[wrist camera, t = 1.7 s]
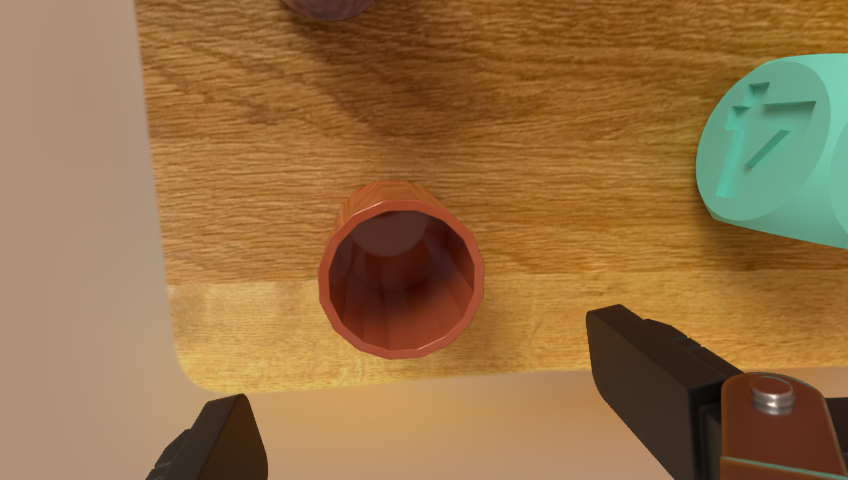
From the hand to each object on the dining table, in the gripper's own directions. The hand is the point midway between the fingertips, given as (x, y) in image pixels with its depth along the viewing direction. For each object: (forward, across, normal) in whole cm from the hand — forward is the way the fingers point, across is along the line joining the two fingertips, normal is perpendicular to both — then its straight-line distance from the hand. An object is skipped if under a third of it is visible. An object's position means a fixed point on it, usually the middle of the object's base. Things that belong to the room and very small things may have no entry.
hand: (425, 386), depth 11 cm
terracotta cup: (+16, 0, 0) cm, 16 cm away
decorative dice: (+16, -22, 0) cm, 27 cm away
